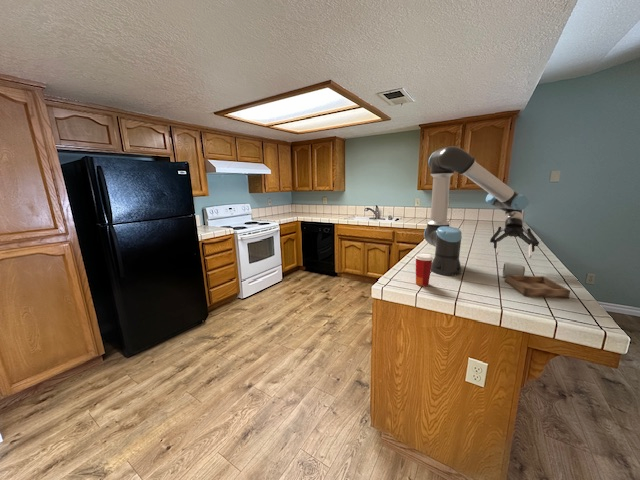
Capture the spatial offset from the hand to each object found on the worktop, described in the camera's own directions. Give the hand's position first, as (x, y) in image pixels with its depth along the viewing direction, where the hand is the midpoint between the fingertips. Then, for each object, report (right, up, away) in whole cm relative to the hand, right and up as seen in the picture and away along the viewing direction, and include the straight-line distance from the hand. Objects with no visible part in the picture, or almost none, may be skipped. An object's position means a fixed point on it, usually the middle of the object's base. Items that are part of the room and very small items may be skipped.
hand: (513, 255), depth 129 cm
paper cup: (-50, -13, -8) cm, 52 cm away
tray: (-3, -14, -16) cm, 22 cm away
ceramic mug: (-2, -11, -1) cm, 12 cm away
